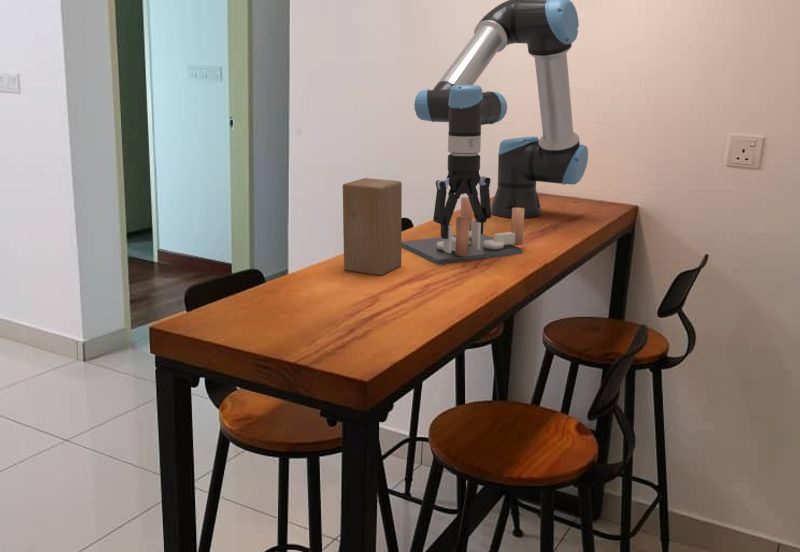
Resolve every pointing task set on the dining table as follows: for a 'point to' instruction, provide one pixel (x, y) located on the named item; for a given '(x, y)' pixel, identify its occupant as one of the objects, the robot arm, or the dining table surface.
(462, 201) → the knob
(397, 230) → the wooden block
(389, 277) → the dining table surface
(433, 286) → the dining table surface
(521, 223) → the knob
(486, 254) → the base plate
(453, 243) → the knob
